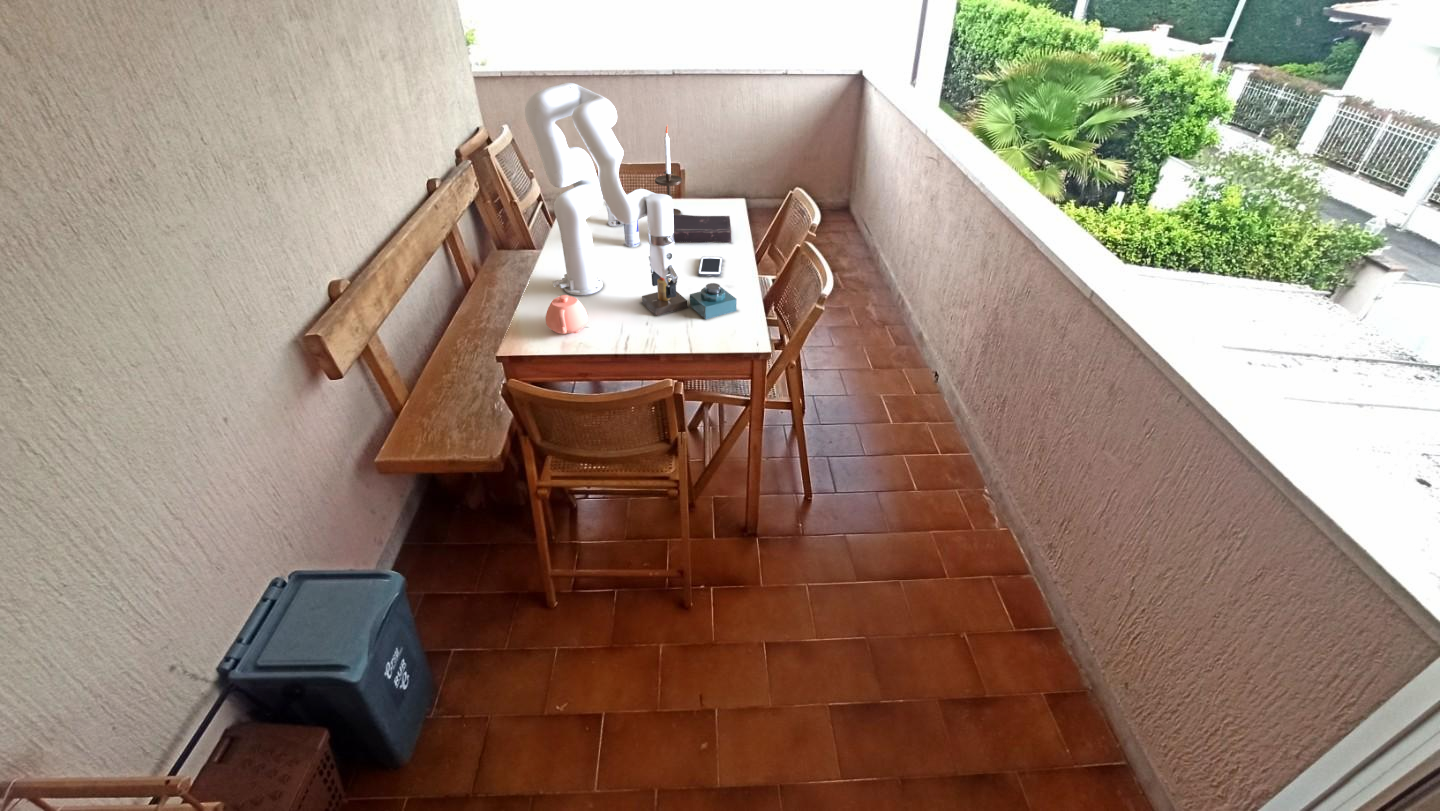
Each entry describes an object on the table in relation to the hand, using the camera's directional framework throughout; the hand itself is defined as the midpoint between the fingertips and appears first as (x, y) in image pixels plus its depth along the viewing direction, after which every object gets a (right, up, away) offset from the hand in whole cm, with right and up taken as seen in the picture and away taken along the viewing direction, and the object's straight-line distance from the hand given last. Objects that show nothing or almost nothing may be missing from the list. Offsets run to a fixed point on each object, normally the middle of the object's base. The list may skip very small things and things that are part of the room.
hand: (664, 291), depth 199 cm
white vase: (-25, +37, +60) cm, 75 cm away
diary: (+9, +31, +50) cm, 60 cm away
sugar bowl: (-28, -13, -9) cm, 32 cm away
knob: (0, -2, +1) cm, 2 cm away
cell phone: (+14, +13, +26) cm, 32 cm away
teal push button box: (+15, -5, +1) cm, 16 cm away
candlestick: (-4, +44, +69) cm, 82 cm away
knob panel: (0, -4, +3) cm, 5 cm away
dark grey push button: (+15, -1, -2) cm, 15 cm away
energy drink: (-16, +25, +42) cm, 52 cm away
